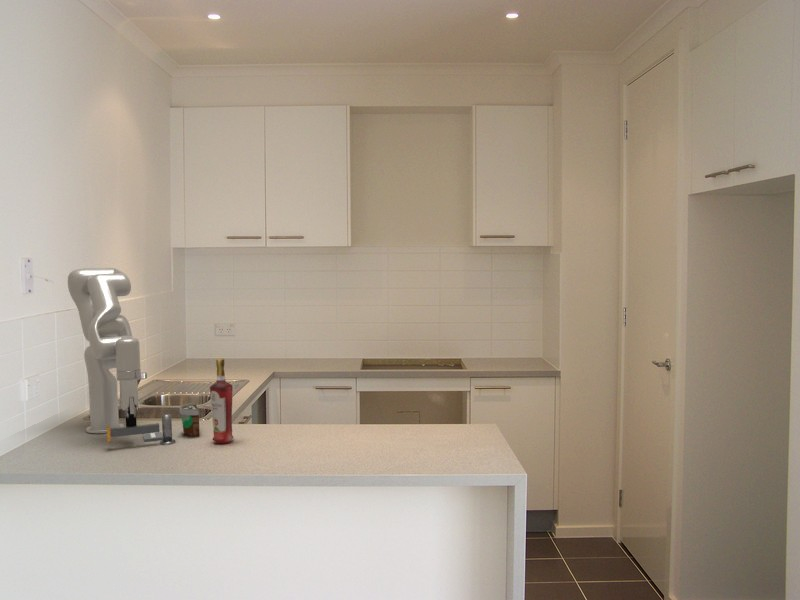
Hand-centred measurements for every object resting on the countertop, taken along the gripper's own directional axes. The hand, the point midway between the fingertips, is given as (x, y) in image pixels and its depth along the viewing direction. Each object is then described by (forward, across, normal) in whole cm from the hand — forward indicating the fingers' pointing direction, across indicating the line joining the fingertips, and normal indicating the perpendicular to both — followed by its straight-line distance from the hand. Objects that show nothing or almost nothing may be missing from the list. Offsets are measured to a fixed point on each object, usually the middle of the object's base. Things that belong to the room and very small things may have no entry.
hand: (131, 429), depth 234 cm
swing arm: (+1, +6, 0) cm, 6 cm away
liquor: (+5, +15, +27) cm, 31 cm away
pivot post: (+5, +6, +10) cm, 13 cm away
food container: (+5, -1, +19) cm, 20 cm away
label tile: (+5, -3, +7) cm, 9 cm away
